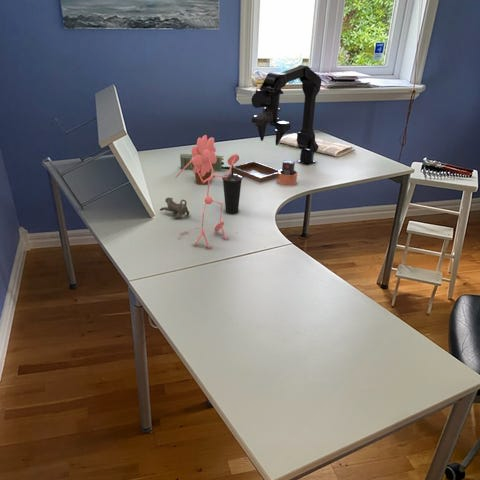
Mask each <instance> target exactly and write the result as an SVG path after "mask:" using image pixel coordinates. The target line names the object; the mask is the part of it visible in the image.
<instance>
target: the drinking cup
mask: <svg viewBox="0 0 480 480" xmlns="http://www.w3.org/2000/svg"><path fill="white" fill-rule="evenodd" d="M233 167H234V165H233V166H232V168H231V171H230V173H229V175H228V176H227V174H225V175H224V174H223V176H227V177H228V178H224V177H221V179H222V185H223V195H224V198H223V199H224V205H225V206H224V207H225V214H228V215H236V214H238V213H239V207H240V197H241V188H242V181H243V177H242V176H240V175H237V174H234V173H233Z"/></svg>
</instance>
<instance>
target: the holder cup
mask: <svg viewBox="0 0 480 480" xmlns="http://www.w3.org/2000/svg"><path fill="white" fill-rule="evenodd" d="M297 181H298V171H296V170H294V175H284V174H282V169H280V171H279V173H278V178H277V183H278V184H279V185H281V186H294V185H296V184H297Z"/></svg>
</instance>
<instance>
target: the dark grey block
mask: <svg viewBox="0 0 480 480" xmlns="http://www.w3.org/2000/svg"><path fill="white" fill-rule="evenodd" d="M295 164H296V162H295V161H289V160H283V161H282V164H281V165H282V166H281V170H282V174H284V175H294V171H295V167H296V166H295Z"/></svg>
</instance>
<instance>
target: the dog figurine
mask: <svg viewBox="0 0 480 480" xmlns="http://www.w3.org/2000/svg"><path fill="white" fill-rule="evenodd" d="M164 202H165V203H166V205H167V207H165V206H164V207H161V208H159V211H160V212H161V211H168V212H172V213H174V214H176V215H175V216H174V217H173V219H174V220H176V219H182V218H183V215H184V216H186V217H189V216H190V211H189V210H188V206H187V204H188V203H187V200H186V199H181V200H180V202H179V203H176V202H175V201H174V198H173V197H166V198H165V200H164ZM183 202H184V203H183ZM177 214H178V215H177Z"/></svg>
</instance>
